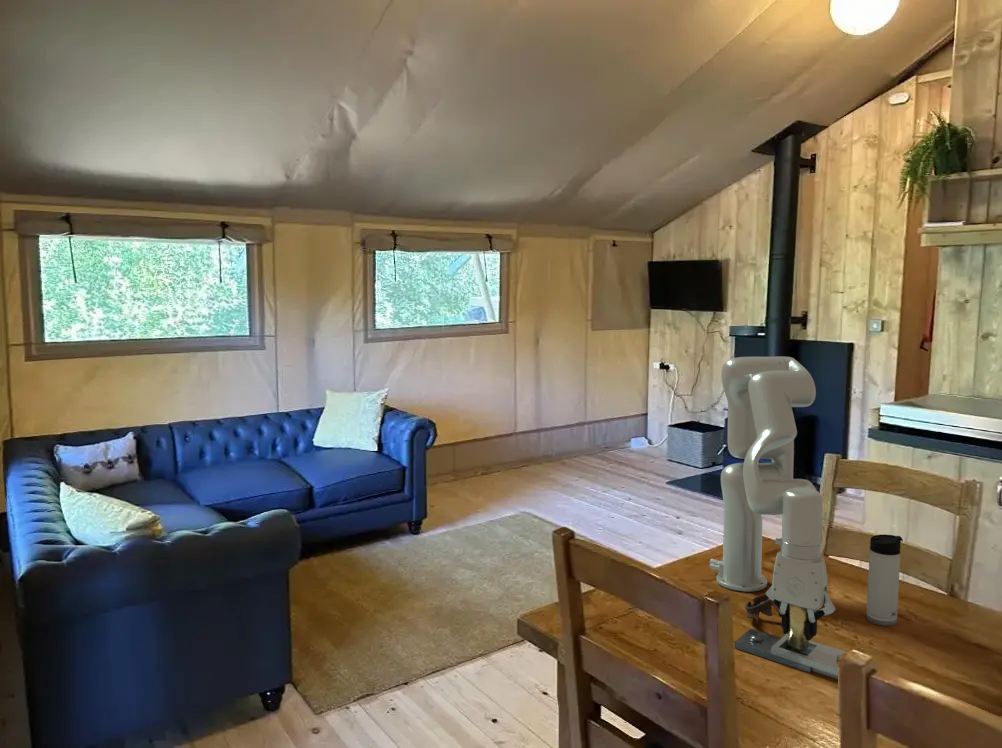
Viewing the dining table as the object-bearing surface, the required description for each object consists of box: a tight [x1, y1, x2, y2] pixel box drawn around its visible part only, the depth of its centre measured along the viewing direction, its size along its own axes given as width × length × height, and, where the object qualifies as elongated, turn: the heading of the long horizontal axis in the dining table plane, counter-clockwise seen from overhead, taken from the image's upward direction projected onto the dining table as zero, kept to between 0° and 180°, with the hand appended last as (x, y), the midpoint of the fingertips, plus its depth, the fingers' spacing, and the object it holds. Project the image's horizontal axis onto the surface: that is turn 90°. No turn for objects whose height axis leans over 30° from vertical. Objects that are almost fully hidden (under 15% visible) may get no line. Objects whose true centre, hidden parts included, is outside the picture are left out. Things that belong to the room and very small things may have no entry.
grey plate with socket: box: [734, 628, 847, 680], centre depth 157 cm, size 24×8×3 cm, turn 48°
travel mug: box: [866, 534, 903, 627], centre depth 172 cm, size 6×7×20 cm
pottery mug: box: [744, 592, 788, 635], centre depth 173 cm, size 12×10×8 cm
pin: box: [787, 604, 809, 649], centre depth 156 cm, size 5×5×11 cm
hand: (798, 633), depth 156 cm, fingers closed on pin, 4 cm apart
